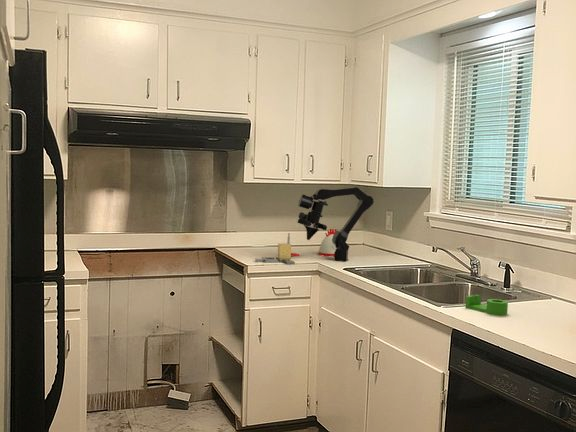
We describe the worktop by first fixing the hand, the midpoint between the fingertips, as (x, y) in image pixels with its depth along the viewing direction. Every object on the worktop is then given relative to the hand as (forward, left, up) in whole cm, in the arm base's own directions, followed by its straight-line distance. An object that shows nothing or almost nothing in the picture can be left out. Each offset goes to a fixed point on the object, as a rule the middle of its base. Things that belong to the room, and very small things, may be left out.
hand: (308, 239), depth 336 cm
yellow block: (+10, +9, -11) cm, 17 cm away
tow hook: (+14, -13, -11) cm, 22 cm away
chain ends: (+13, +15, -11) cm, 23 cm away
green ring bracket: (-95, +80, -12) cm, 125 cm away
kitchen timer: (-5, -27, -11) cm, 30 cm away
